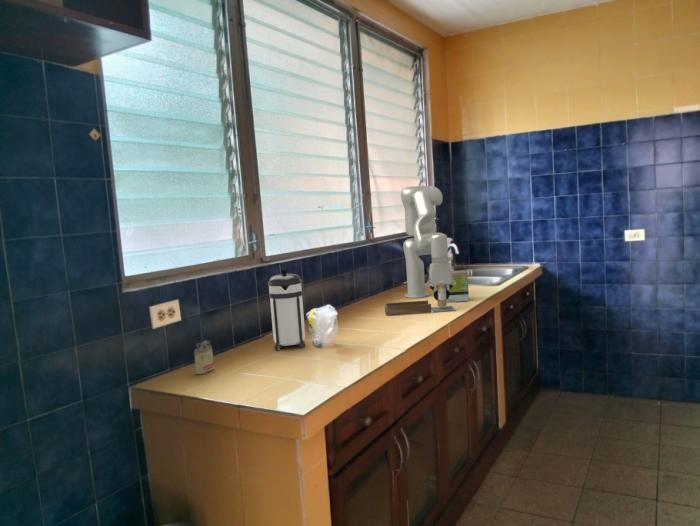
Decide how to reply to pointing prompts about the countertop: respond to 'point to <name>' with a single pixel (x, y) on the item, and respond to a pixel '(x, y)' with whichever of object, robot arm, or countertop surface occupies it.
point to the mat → (442, 309)
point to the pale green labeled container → (204, 358)
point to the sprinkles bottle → (441, 295)
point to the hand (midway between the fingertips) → (441, 298)
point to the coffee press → (287, 309)
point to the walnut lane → (407, 308)
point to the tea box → (459, 287)
